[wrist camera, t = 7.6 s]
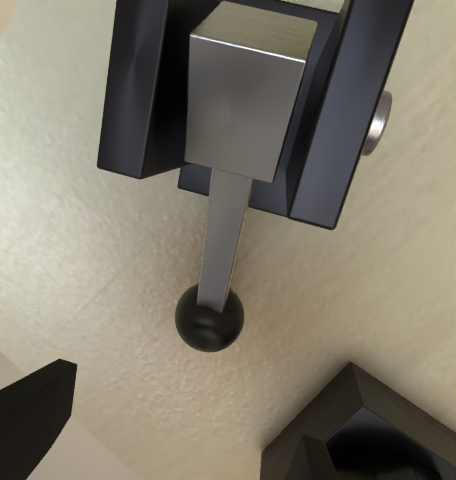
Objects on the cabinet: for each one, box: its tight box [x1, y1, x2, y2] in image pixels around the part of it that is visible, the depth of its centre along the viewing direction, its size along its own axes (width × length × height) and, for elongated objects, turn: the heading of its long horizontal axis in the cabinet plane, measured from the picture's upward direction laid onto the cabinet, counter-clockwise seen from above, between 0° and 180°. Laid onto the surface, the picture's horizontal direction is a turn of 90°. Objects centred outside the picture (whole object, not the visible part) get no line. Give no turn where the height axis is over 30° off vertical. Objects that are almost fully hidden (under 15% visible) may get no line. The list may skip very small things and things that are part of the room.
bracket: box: [97, 0, 414, 230], centre depth 11 cm, size 8×6×10 cm
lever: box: [175, 1, 317, 352], centre depth 12 cm, size 13×3×3 cm, turn 167°
